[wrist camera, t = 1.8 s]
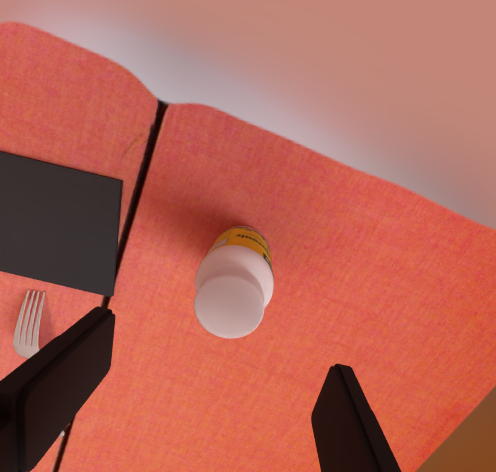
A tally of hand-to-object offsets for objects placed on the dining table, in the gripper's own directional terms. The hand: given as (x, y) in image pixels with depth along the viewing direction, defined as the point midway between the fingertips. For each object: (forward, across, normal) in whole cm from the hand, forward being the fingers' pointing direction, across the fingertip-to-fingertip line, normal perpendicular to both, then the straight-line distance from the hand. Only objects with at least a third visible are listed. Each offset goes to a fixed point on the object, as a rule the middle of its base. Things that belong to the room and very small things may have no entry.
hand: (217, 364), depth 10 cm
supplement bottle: (+13, 0, 0) cm, 13 cm away
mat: (+13, +18, +2) cm, 23 cm away
